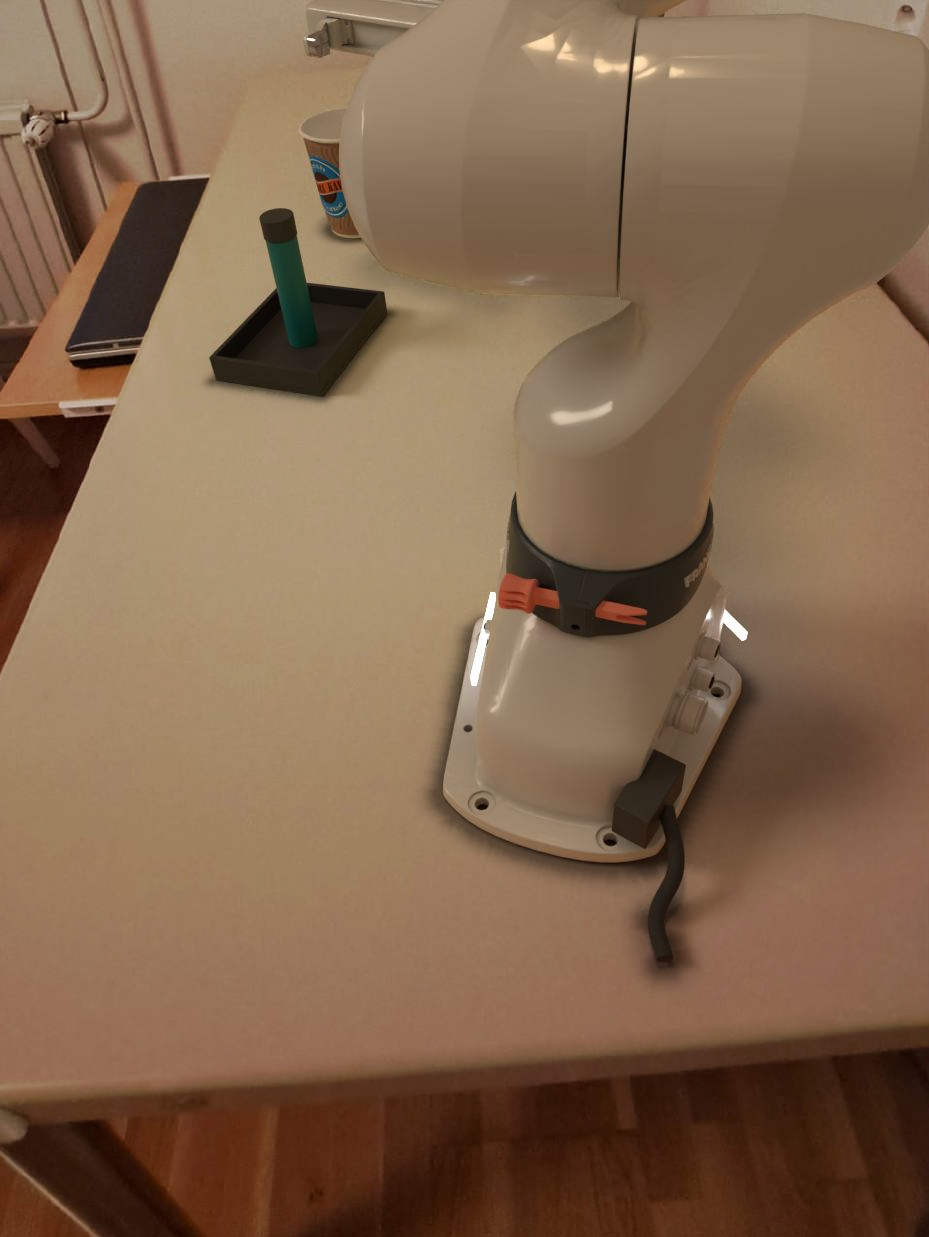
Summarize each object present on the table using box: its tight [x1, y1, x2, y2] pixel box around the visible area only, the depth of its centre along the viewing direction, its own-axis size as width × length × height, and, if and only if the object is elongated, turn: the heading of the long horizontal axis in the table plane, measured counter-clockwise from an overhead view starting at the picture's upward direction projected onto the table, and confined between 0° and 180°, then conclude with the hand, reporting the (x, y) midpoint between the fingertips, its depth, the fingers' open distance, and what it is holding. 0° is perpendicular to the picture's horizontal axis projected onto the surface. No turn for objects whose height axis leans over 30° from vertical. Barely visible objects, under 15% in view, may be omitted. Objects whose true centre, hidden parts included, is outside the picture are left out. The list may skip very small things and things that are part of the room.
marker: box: [258, 207, 318, 348], centre depth 92 cm, size 3×3×13 cm
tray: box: [208, 282, 388, 397], centre depth 96 cm, size 16×12×3 cm
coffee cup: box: [298, 106, 362, 239], centre depth 111 cm, size 10×10×12 cm
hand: (348, 54), depth 83 cm, fingers open, 8 cm apart
